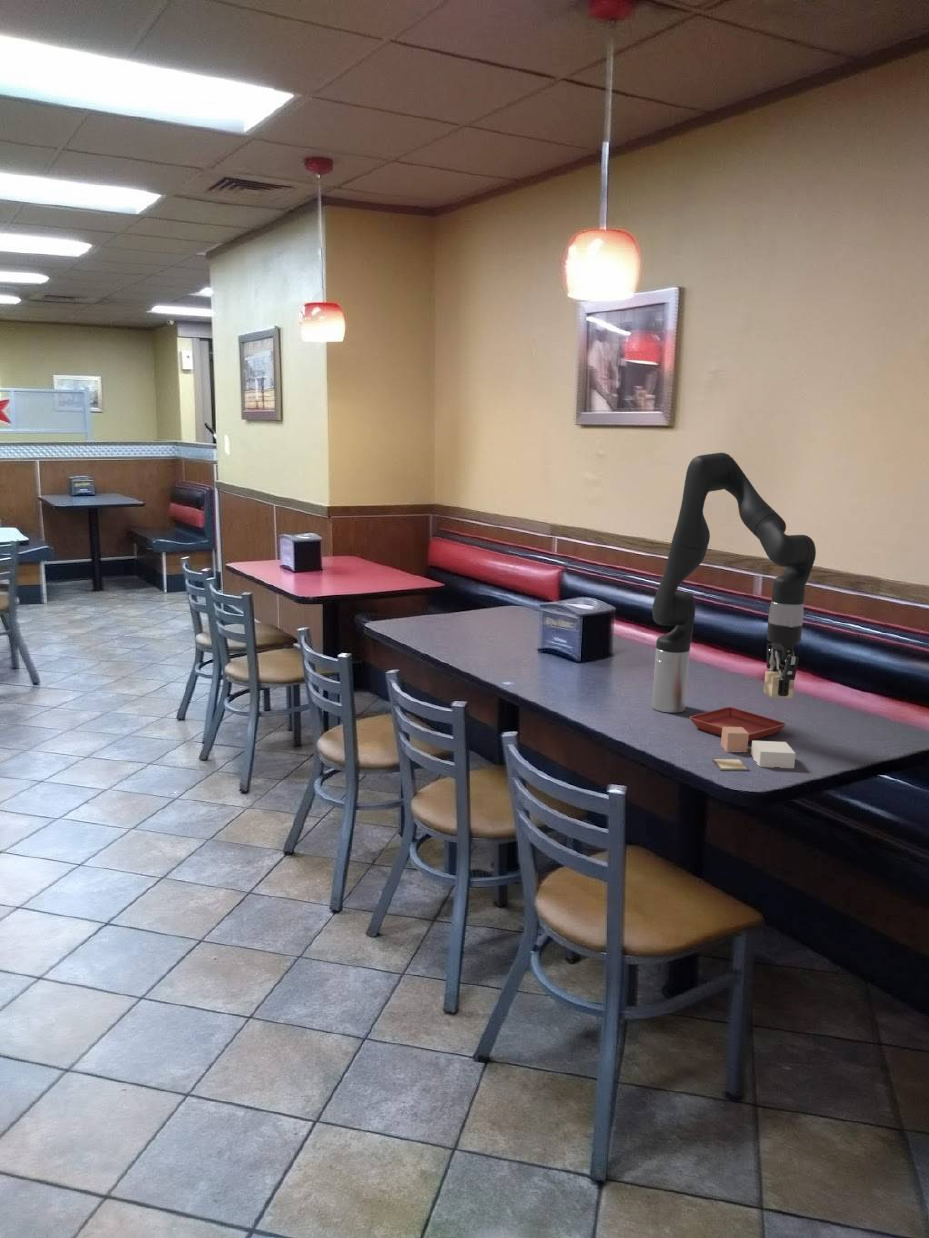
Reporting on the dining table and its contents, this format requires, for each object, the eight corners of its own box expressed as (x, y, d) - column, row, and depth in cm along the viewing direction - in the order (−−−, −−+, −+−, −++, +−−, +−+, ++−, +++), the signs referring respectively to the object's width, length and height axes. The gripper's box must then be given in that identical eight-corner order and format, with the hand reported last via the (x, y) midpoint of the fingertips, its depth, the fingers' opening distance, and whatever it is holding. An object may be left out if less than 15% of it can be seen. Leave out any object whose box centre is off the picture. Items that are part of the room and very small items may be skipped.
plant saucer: (728, 717, 255) (729, 705, 254) (786, 734, 241) (787, 722, 240) (686, 728, 244) (687, 716, 243) (745, 748, 230) (746, 735, 229)
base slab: (750, 756, 224) (752, 740, 223) (784, 757, 224) (785, 741, 223) (759, 767, 216) (760, 751, 215) (793, 769, 216) (795, 753, 215)
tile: (711, 760, 219) (711, 758, 219) (739, 760, 220) (740, 758, 220) (720, 770, 213) (720, 768, 213) (749, 770, 213) (749, 769, 213)
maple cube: (763, 691, 219) (765, 671, 218) (784, 692, 219) (786, 671, 218) (771, 697, 214) (773, 676, 213) (792, 697, 214) (794, 677, 213)
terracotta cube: (720, 745, 230) (722, 726, 229) (740, 746, 230) (742, 727, 229) (726, 752, 225) (728, 733, 224) (746, 753, 225) (748, 733, 224)
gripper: (758, 615, 220) (752, 683, 223) (781, 627, 206) (773, 701, 209) (789, 615, 220) (782, 684, 224) (814, 628, 206) (806, 701, 210)
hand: (778, 692), depth 216 cm, fingers closed on maple cube, 5 cm apart
